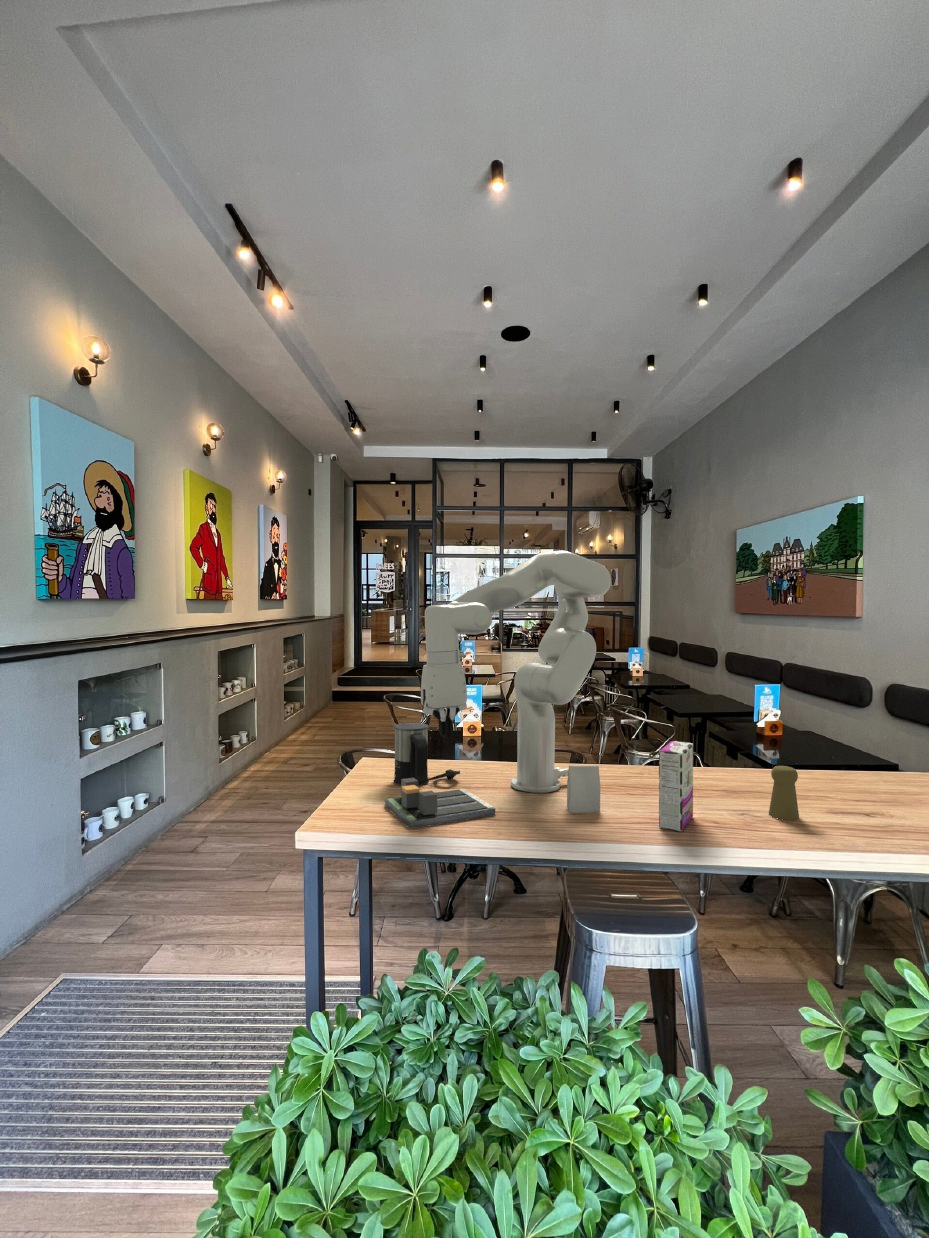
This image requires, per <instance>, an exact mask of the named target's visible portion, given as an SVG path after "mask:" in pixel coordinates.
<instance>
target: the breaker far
mask: <svg viewBox="0 0 929 1238" xmlns="http://www.w3.org/2000/svg"><path fill="white" fill-rule="evenodd" d="M410 785H415V786H417V787H418V788H419V785H418V781H417V780H416V779H415V778H407V779H401V785H400V793H401V794H400V797H402V786H410Z"/></svg>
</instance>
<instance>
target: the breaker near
mask: <svg viewBox="0 0 929 1238" xmlns="http://www.w3.org/2000/svg"><path fill="white" fill-rule="evenodd" d="M419 812H421V813H422V814H423V815H429V814H436V813H437V794H436V792H435V791H433V790H426V791H419Z"/></svg>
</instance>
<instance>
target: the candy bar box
mask: <svg viewBox="0 0 929 1238" xmlns="http://www.w3.org/2000/svg"><path fill="white" fill-rule="evenodd" d="M658 761H659V762H658V782H659V783H658V785H659V786H658V787H659V788H658V791H659V792H658V794H659V796H658V799H659V801H658V802H659V803H658V814H659V815H658V819H659V820H658V824H659V825H658V828H660V829H663V830H669V831H674V832H679V833H682V832H683V831H684V830H685V829H686V827H687V826H688V824H689V822H690V821H691V820H692V819H693V817H694V743H691V742H686V741H677V740H671V741H670V742H669V743H667V744H666V745H665V746H663V747H662V748H661V749H659V751H658Z"/></svg>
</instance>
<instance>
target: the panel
mask: <svg viewBox="0 0 929 1238" xmlns="http://www.w3.org/2000/svg"><path fill="white" fill-rule="evenodd" d="M435 793H436V794H437V813H436V814H429V815H423V814H422V813H421V812H419V807H414V808H407V809H406V808H405V807H404V806H403V805H402V797H401V796H399V797H391V798H386V799H385V800H384V803H385V804H384V806H385V807H386V808H387V809H388V810H389V811H390V810H391V811H392V812H393V813H394V814H395V815H394V814H393V815H394V816H395V817H396V818H397V819H399V820H400V821H401V822H402V823H403V824H404V825H405V826H406V825H407V826H408V827H409V828H408V827H407V826H406V827H407V828H408V829H410V828H412V829H417V827H418V828H423V827H422V826H424V827H430V826H429V825H431V826H437V825H442V824H443V825H444V824H448V823H447V822H450V823H454V822H455V821H456V822H460V821H467V820H466V819H468V820H475V819H479V818H486V817H491V816H493V817H494V816H496V808H495V807H494V806H493V805H492V804H490V803H488V802H486V801H484V799H482V798H480V797H478V796H477V795H475V794H473V793H471V792H470V791H468V790H467V789H465V788H458V789H453V790H444V791H438V792H435ZM391 811H390V812H391ZM392 812H391V813H392ZM456 822H455V823H456Z"/></svg>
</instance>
